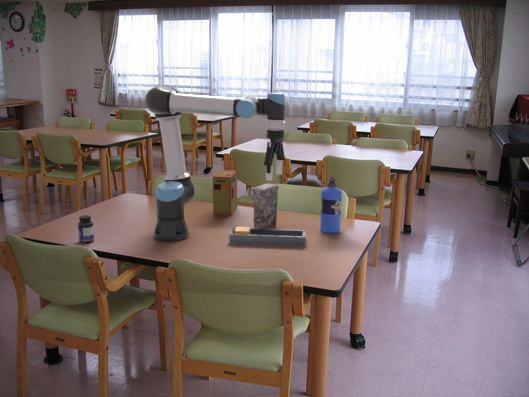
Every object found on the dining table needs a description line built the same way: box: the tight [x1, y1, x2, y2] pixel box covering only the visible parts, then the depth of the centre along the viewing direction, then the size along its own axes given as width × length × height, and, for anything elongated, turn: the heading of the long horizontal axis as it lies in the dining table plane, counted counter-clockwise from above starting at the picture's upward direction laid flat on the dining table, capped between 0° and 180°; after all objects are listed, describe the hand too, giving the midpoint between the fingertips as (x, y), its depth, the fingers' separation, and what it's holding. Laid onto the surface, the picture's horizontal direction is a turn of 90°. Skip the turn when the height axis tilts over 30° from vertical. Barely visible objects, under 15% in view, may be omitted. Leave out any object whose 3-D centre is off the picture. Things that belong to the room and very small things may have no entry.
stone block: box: [252, 182, 279, 229], centre depth 248 cm, size 13×7×20 cm, turn 151°
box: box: [212, 169, 238, 217], centre depth 274 cm, size 17×9×20 cm, turn 172°
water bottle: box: [319, 176, 343, 235], centre depth 243 cm, size 9×9×25 cm
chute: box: [228, 227, 307, 248], centre depth 230 cm, size 32×12×4 cm, turn 85°
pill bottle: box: [77, 214, 95, 243], centre depth 228 cm, size 6×6×11 cm
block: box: [235, 226, 251, 234], centre depth 231 cm, size 6×6×4 cm
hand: (274, 177), depth 237 cm, fingers open, 13 cm apart
